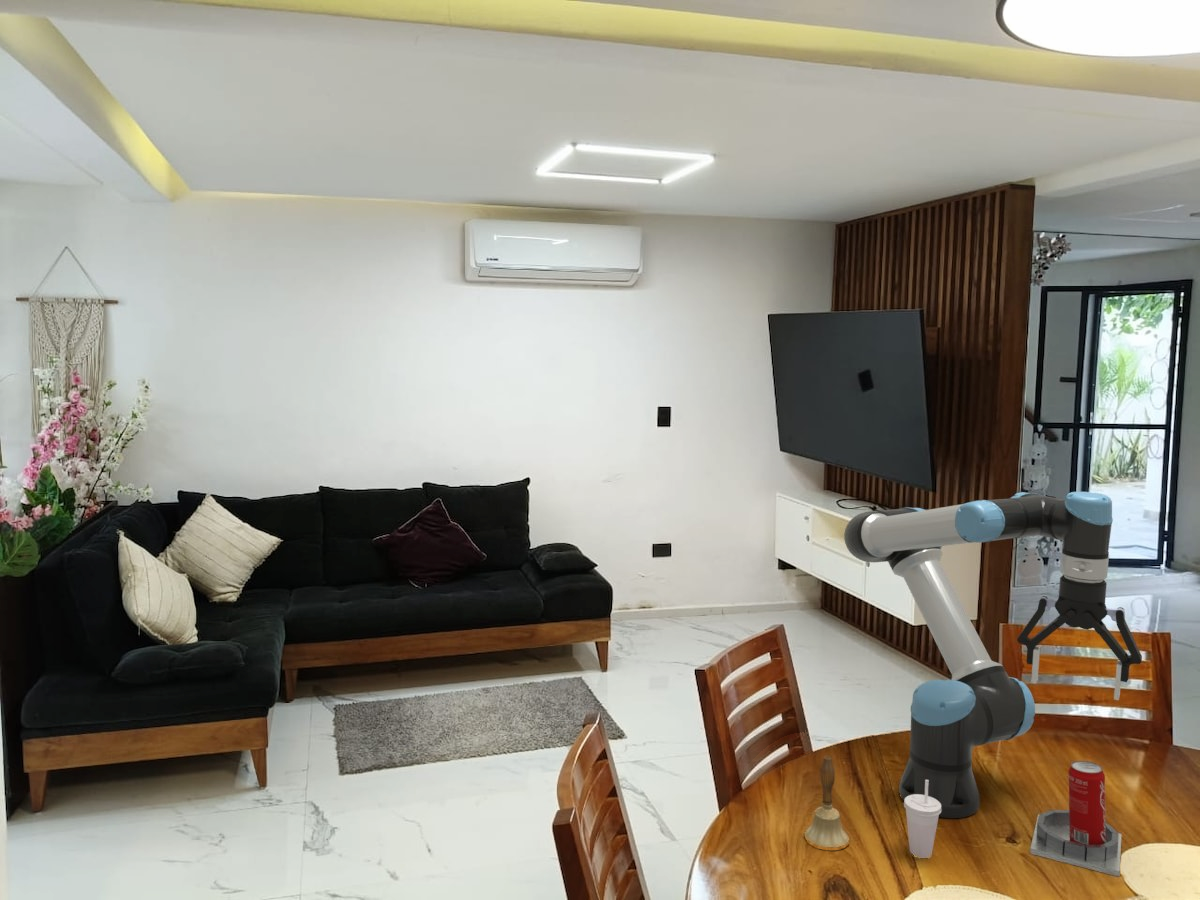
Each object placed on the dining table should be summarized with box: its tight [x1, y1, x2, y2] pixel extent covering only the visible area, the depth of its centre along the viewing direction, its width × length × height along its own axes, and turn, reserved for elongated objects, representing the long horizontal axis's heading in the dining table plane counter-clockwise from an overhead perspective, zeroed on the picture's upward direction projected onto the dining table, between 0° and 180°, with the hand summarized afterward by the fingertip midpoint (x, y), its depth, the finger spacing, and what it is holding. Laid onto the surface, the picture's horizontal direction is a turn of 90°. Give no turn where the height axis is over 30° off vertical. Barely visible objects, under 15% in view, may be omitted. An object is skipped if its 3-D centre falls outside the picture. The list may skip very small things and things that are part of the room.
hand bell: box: [804, 755, 850, 847], centre depth 167 cm, size 8×8×16 cm
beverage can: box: [1068, 760, 1106, 845], centre depth 163 cm, size 6×6×15 cm
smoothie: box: [903, 780, 941, 859], centre depth 163 cm, size 6×6×14 cm
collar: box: [1029, 809, 1122, 878], centre depth 165 cm, size 14×14×4 cm
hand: (1074, 689), depth 168 cm, fingers open, 13 cm apart
